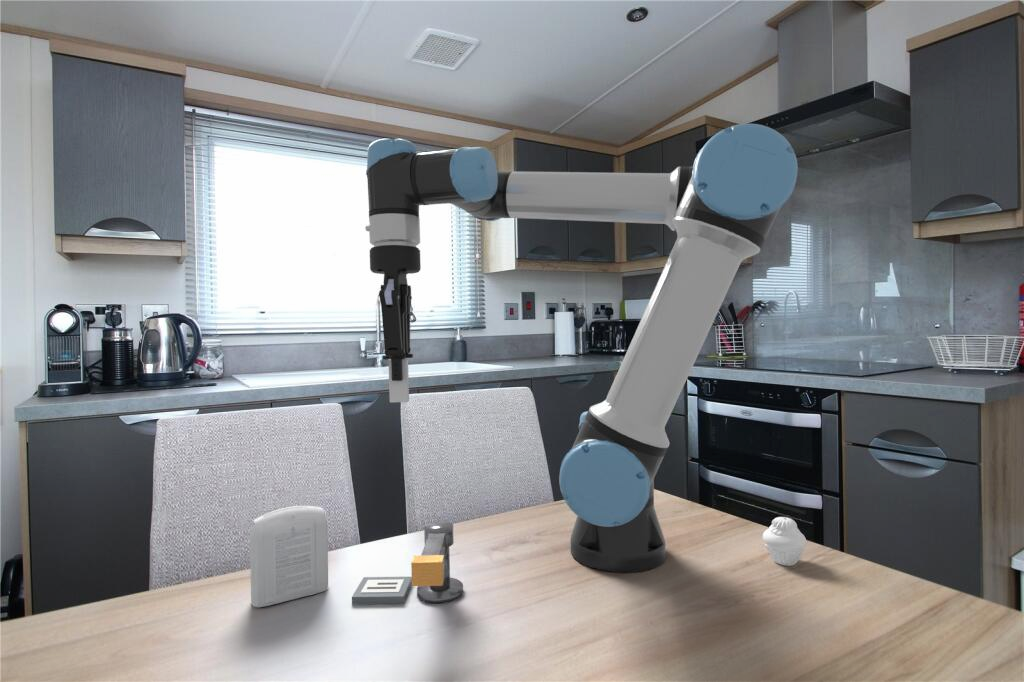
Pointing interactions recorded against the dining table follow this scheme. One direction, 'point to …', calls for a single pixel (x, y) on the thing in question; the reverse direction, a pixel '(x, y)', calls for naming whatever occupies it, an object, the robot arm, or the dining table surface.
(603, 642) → the dining table surface
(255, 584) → the photo printer
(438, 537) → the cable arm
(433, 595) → the round-base stand
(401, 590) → the label tile
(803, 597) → the dining table surface
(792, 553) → the muffin
